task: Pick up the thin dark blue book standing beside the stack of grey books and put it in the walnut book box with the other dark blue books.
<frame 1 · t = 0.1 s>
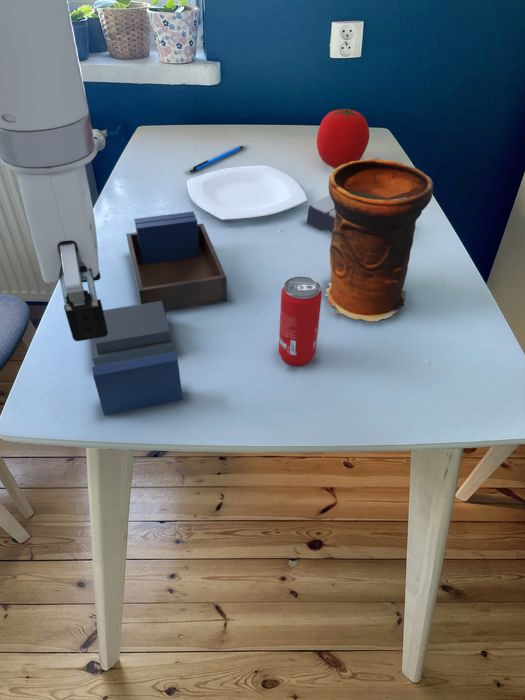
hand: (88, 307, 55), 18 cm above the table, tool pointing down, fingers open, 9 cm apart
vessel: (361, 296, 88), on the table
book box: (176, 277, 91), on the table
grey books: (132, 343, 78), on the table
blue books: (167, 238, 92), in the book box, point 4 cm above the table
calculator: (353, 227, 104), on the table
beverage can: (296, 357, 76), on the table
tomato: (340, 165, 126), on the table
pen: (218, 161, 127), on the table
blue book: (143, 402, 69), on the table
plate: (245, 199, 113), on the table
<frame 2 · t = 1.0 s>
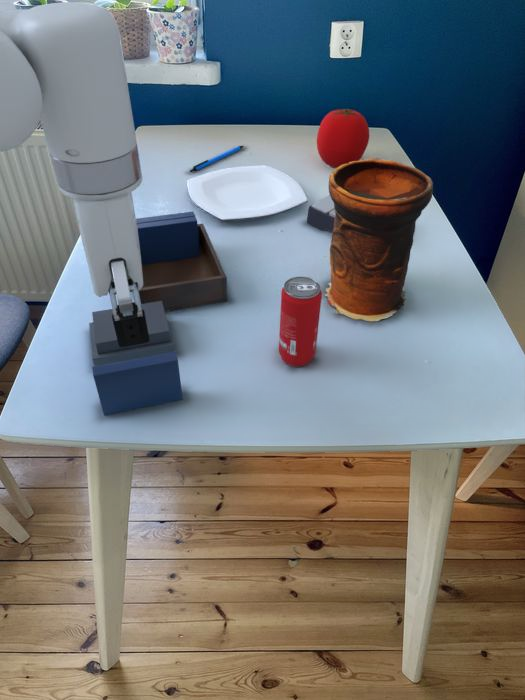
hand: (129, 315, 60), 14 cm above the table, tool pointing down, fingers open, 9 cm apart
nothing on the table moved.
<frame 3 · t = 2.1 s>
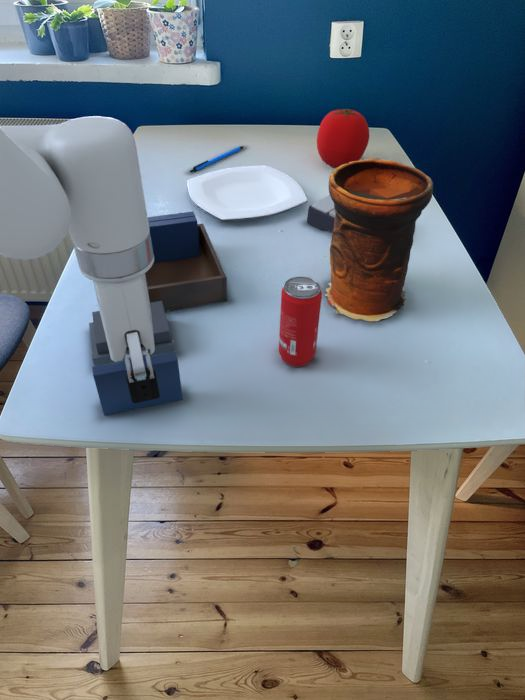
hand: (140, 370, 66), 6 cm above the table, tool pointing down, fingers open, 9 cm apart
nothing on the table moved.
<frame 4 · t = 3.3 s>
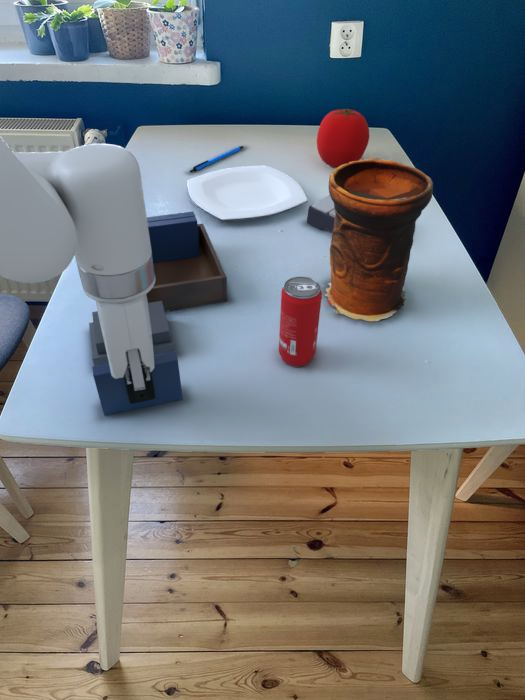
hand: (141, 392, 68), 2 cm above the table, tool pointing down, fingers closed on blue book, 1 cm apart
blue book: (143, 402, 69), on the table, touching gripper
everything else where it was.
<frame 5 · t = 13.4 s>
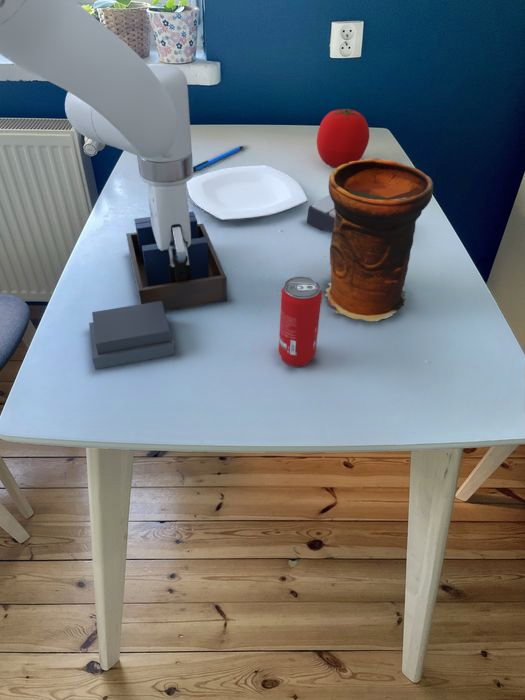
hand: (176, 270, 87), 3 cm above the table, tool pointing down, fingers open, 8 cm apart
blue book: (178, 281, 89), point 1 cm above the table, touching book box
everything else where it was.
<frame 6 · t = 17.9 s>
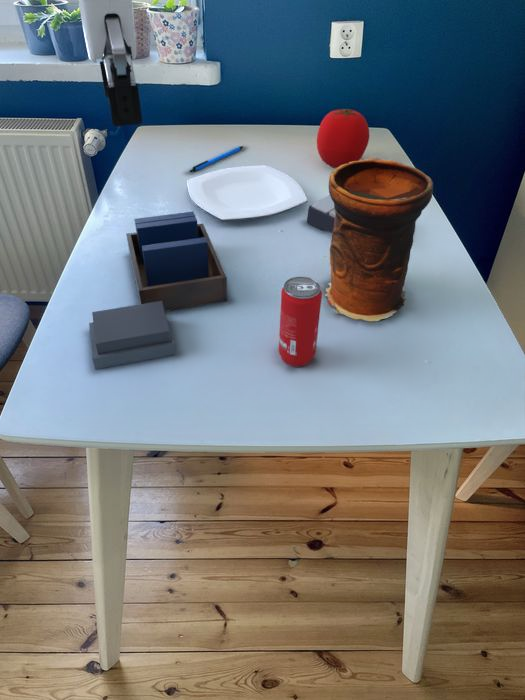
hand: (123, 109, 63), 30 cm above the table, tool pointing down, fingers open, 9 cm apart
nothing on the table moved.
at the end: blue book inside the target area in the book box (2.0 cm from its centre), point 0.6 cm above the book box's base; the gripper is holding nothing; blue book moved 26.6 cm from its start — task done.
